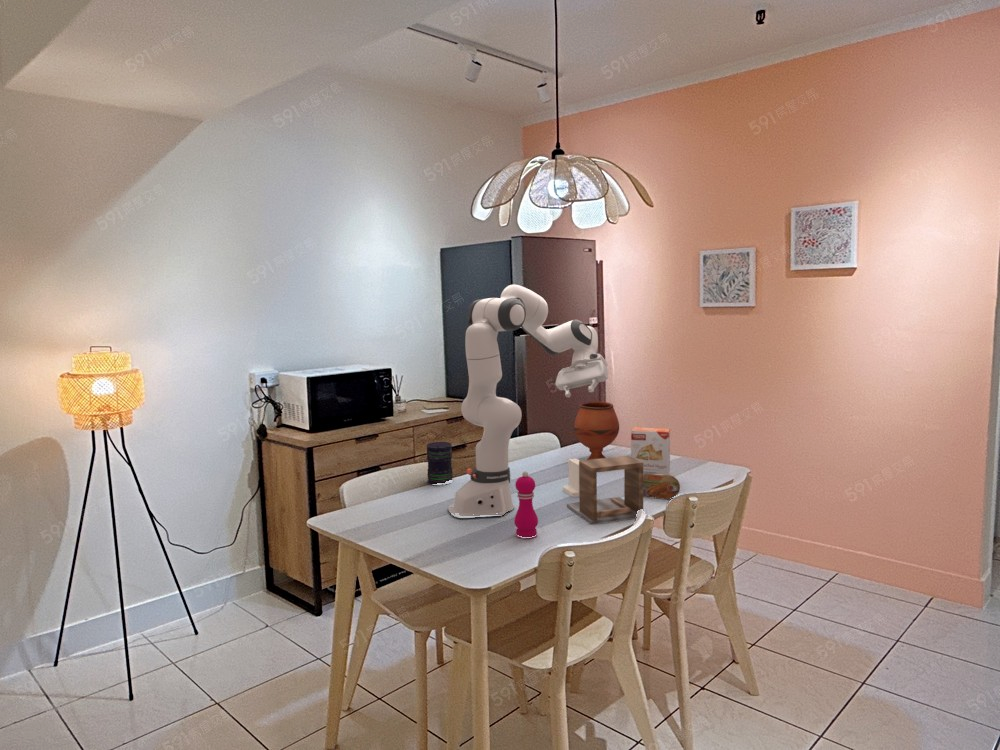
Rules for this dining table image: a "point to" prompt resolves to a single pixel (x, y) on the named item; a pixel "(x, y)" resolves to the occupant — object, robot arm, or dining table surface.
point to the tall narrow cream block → (573, 478)
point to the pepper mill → (525, 507)
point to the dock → (609, 507)
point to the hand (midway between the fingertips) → (579, 393)
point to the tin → (660, 486)
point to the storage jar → (439, 462)
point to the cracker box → (651, 449)
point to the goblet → (596, 427)
